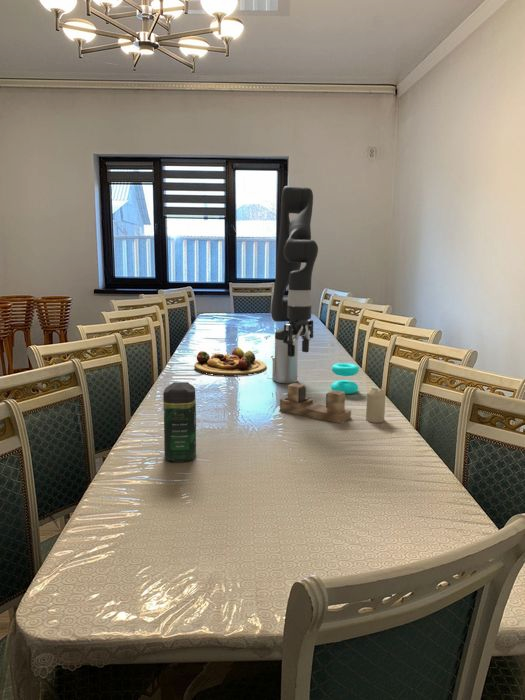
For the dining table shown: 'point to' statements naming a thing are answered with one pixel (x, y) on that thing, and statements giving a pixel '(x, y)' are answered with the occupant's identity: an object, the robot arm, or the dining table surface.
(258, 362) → the wooden plate with food
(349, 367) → the donuts
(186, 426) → the coffee jar
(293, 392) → the brown wooden block
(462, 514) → the dining table surface
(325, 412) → the rail
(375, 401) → the candle
